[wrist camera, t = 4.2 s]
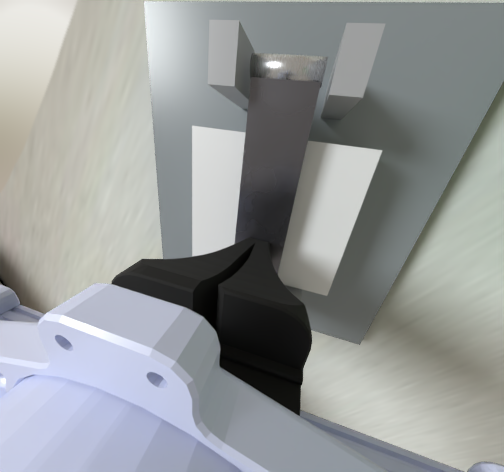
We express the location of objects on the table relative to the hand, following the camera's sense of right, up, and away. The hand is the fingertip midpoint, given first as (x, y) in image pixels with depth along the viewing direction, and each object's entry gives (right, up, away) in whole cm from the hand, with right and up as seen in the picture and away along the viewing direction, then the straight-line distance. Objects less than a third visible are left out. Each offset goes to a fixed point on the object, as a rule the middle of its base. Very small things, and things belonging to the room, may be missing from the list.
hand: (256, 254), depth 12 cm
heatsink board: (+2, +4, +4) cm, 6 cm away
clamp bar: (0, +2, 0) cm, 2 cm away
